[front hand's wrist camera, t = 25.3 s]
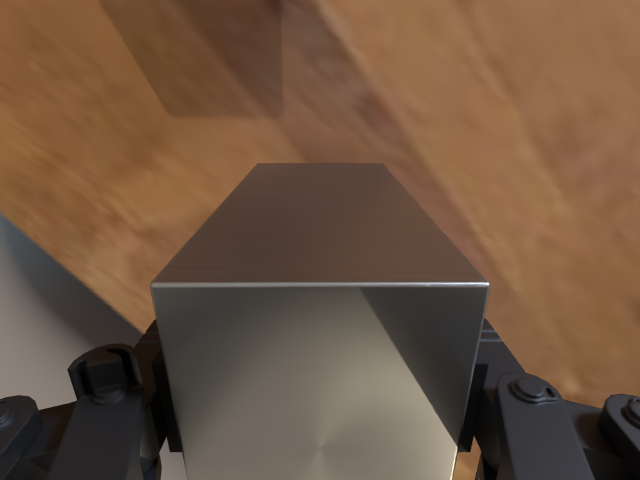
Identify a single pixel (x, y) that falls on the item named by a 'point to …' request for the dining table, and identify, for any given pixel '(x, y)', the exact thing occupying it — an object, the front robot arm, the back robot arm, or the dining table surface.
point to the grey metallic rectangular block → (320, 331)
